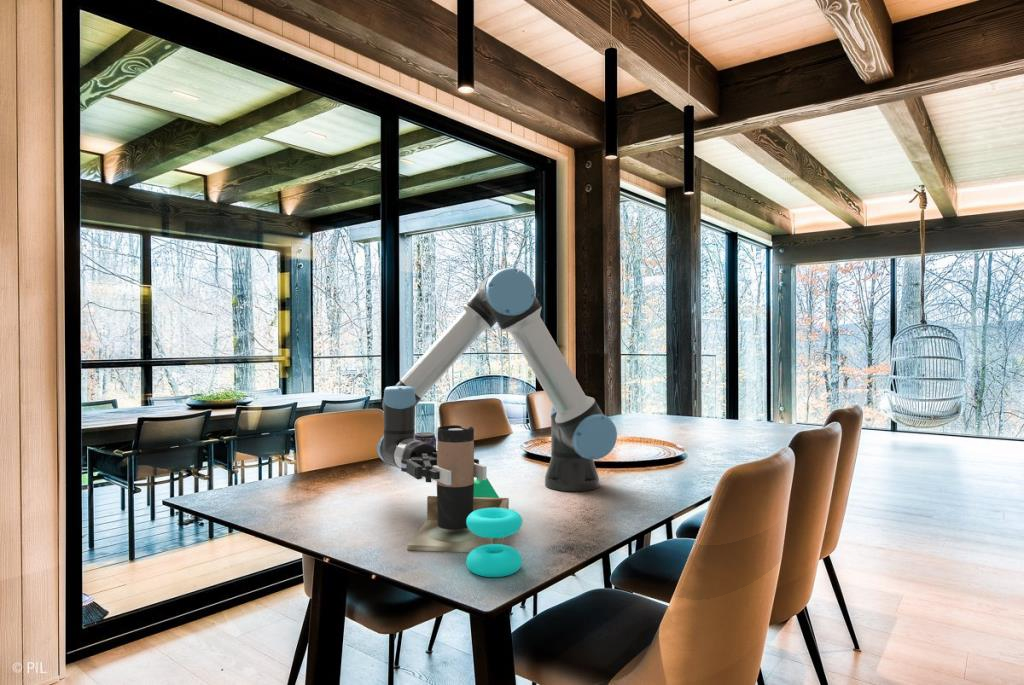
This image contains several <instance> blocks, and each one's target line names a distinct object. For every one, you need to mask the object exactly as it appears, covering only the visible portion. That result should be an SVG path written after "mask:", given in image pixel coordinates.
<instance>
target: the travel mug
mask: <svg viewBox="0 0 1024 685" xmlns="http://www.w3.org/2000/svg"><path fill="white" fill-rule="evenodd" d="M474 441H475V429H474V427H473V426H469V427H467V428H464V427H462V426H461V425H455V424H453V425H442V426H438V427H437V438H436V450H437V466H438V467H441V468H444V469H447V470H450V471H451V485H446V484H443V483H441V482H438V481H436V496H437V516H438V526H439V527H440V528H442V529H447V530H461V529H466V528H468V527H467V524H466V520H467V517H468V515H469V514H470V513H472V512H473V497H474V481H475V477H474V459H475V442H474Z"/></svg>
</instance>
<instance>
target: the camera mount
mask: <svg viewBox="0 0 1024 685" xmlns="http://www.w3.org/2000/svg"><path fill="white" fill-rule="evenodd" d="M474 497H486V498H500V496H499V495H498V493H497V492H496V490H495V489H494V487H493V485H492V484H491V482H490V480H489V479H488V477H487V476H486V480H481V479H478V478H475V479H474Z"/></svg>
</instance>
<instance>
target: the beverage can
mask: <svg viewBox="0 0 1024 685" xmlns="http://www.w3.org/2000/svg"><path fill="white" fill-rule="evenodd" d="M435 434H436V433H434V432H429V431H428V432H425V431H424V432H415V440H419V441H422V442H425V443H428V444H431V445H432V446H433V447H434V448H435V449H436V450H437V438H436V436H435Z"/></svg>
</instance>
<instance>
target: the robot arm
mask: <svg viewBox="0 0 1024 685" xmlns="http://www.w3.org/2000/svg"><path fill="white" fill-rule="evenodd" d="M470 296H471V297H470V298H468V300H467V301H466V302H465V303H464V304H463V305H462V306H463V311H462V312H461V313H460V314H459V315H458V316H457V318H456V319H454V321H452V323H451V324H450V325H449V326H448V328H446V330H444V331H443V333H442V334H441V335H440V336H439V337H438V338H437V339H436V340H435V341H434V343H433V344H432V345H431V346H430V347H429V348H428V349H427V350H426V352H424V353H423V355H422V356H421V357H420V358H419V359H418V360H417V362H415V364H414V365H413V366H411V368H410V369H409V370H408V371H407V372H406V373H405V375H403V377H402V378H400V381H398V382H397V383H396V384H395V385H392V386H390V385H389V386H386V387H385V388H384V390H383V392H384V393H383V397H382V400H381V401H382V402H381V405H382V406H381V408H382V410H383V433H382V434H383V436H382V437H381V438H380V439H379V441H378V443H377V447H376V448H377V449H376V451H377V454H378V457H379V458H380V459H381V460H382V461H383V462H385V464H387V465H389V466H392V467H395V468H399V469H400V472H404V473H406V474H408V475H409V476H411V477H413V478H415V479H417V480H422V479H423V477H424V478H425V483H431V482H432V481H435V482H437V481H438V482H441V483H443V484H446V485H451V471H450V470H447V469H444V468H441V467H438V466H437V448H436V449H435V448H434V447H433V446H432V445H431V444H428V443H425V442H422V441H419V440H415V433H416V427H415V426H416V425H415V424H416V406H417V405H418V404H419V403H420V401H421V400H422V399H423V398H424V396H426V394H428V392H430V390H431V389H432V388H433V387H434V386H435V385H436V383H437V382H438V381H439V380H440V379H441V378H442V377H443V376H444V375H445V374H446V372H448V371H449V369H450V368H452V366H453V365H454V364H455V363H456V361H457V360H458V359H459V358H460V357H461V356H462V355H463V354H464V353H465V352H466V351H467V350H468V348H469V347H470V346H471V345H472V344H473V343H474V342H475V341H476V340H477V339H478V337H480V335H481V334H482V333H483V332H484V331H485V330H487V331H488V330H491V329H492V327H493V326H495V324H496V323H497V325H498V326H499V327H500V329H501V331H503V332H506V333H510V334H511V336H512V338H513V340H514V342H515V343H516V345H517V347H518V348H519V350H520V352H521V353H522V355H523V357H524V359H525V360H526V362H527V364H528V366H529V367H530V369H531V371H532V372H533V374H534V375H535V377H536V379H537V381H538V383H539V384H540V386H541V387H542V389H543V391H544V393H545V394H546V396H547V397H548V400H549V401H550V402H551V404H552V407H551V414H550V418H551V421H550V423H551V424H550V425H551V428H550V439H551V441H550V444H551V445H550V446H551V447H550V448H551V449H550V451H551V454H550V455H551V456H550V459H549V460H550V461H549V464H548V467H547V470H546V472H545V477H544V486H546V487H547V488H548V489H552V490H555V491H562V492H587V491H591V490H592V491H593V490H595V489H598V488H599V487H600V476H599V474H598V471H597V468H596V465H595V461H596V460H600V459H602V458H604V457H606V456H608V455H609V454H610V453H611V452H612V451H613V450H614V448H615V445H616V442H617V440H618V430H617V427H616V425H615V424H614V422H613V421H612V419H611V418H609V417H608V416H607V415H605V414H604V412H603V411H602V409H601V408H600V406H599V404H598V403H597V402H596V399H595V398H594V397H591V396H588V395H586V394H585V392H584V391H583V389H582V387H581V385H580V383H579V382H578V379H577V378H576V376H575V375H574V373H573V371H572V369H571V368H570V366H569V364H568V363H567V361H566V359H565V357H564V355H563V354H562V353H561V351H560V348H559V347H558V345H557V344H556V342H555V340H554V338H553V337H552V335H551V333H550V331H549V330H548V328H547V326H546V324H545V323H544V321H543V319H542V318H541V311H542V308H543V307H542V305H541V304H540V302H539V300H538V298H537V297H536V288H535V285H534V282H533V280H532V279H531V277H530V276H529V275H528V274H527V273H526V272H524V271H523V270H520V269H519V268H515V267H503V268H500V269H498V270H495V271H494V272H492V273H491V274H489V275H488V276H486V277H485V278H484V279H483V280H482V281H481V282H480V284H479V285H478V287H477V288H476V289H475V291H474V292H473V293H472V295H470ZM486 477H487V466H486V465H483V464H480V459H479V458H478V459H477V458H474V478H475V479H477V478H478V479H481V480H486Z"/></svg>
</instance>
